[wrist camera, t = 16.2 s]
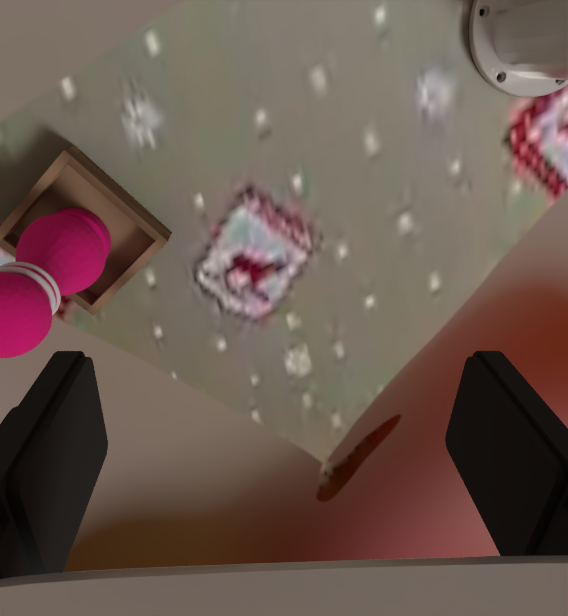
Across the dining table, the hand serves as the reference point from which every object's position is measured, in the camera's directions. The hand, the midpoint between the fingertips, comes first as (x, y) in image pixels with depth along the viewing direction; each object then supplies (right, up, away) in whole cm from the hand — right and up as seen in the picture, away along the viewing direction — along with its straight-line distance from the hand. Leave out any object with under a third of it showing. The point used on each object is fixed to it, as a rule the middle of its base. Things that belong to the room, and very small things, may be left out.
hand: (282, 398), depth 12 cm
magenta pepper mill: (-20, +9, +34) cm, 41 cm away
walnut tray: (-19, +10, +34) cm, 41 cm away
